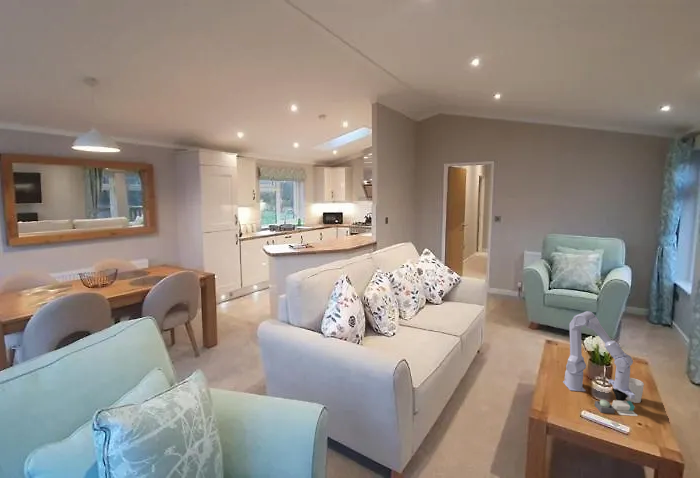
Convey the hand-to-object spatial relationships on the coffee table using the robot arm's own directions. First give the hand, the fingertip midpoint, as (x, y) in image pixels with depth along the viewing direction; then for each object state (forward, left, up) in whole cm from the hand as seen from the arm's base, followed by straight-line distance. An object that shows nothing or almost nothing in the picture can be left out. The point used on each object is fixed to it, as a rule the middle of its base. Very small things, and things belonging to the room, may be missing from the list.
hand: (619, 403), depth 182 cm
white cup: (-8, +10, -2) cm, 13 cm away
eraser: (+2, 0, -1) cm, 2 cm away
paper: (+3, 0, -1) cm, 4 cm away
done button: (+3, -9, -1) cm, 10 cm away
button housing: (+3, -9, -1) cm, 10 cm away
